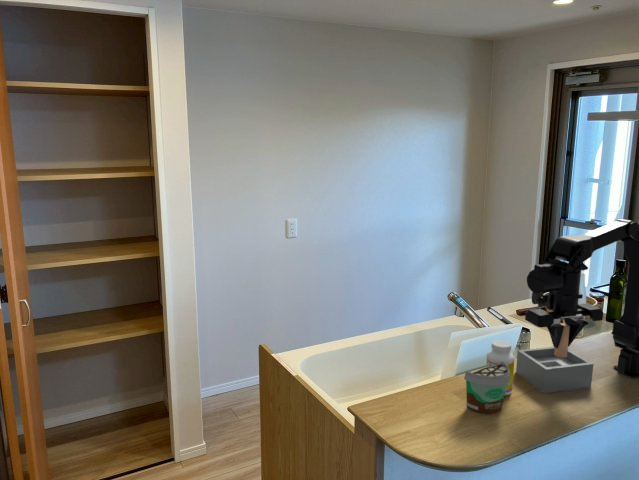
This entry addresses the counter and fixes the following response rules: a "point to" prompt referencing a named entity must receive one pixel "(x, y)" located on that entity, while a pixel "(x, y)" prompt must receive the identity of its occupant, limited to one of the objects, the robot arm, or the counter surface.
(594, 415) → the counter surface
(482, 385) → the food container
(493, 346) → the supplement bottle
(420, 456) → the counter surface
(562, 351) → the peg
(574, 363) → the bore box
